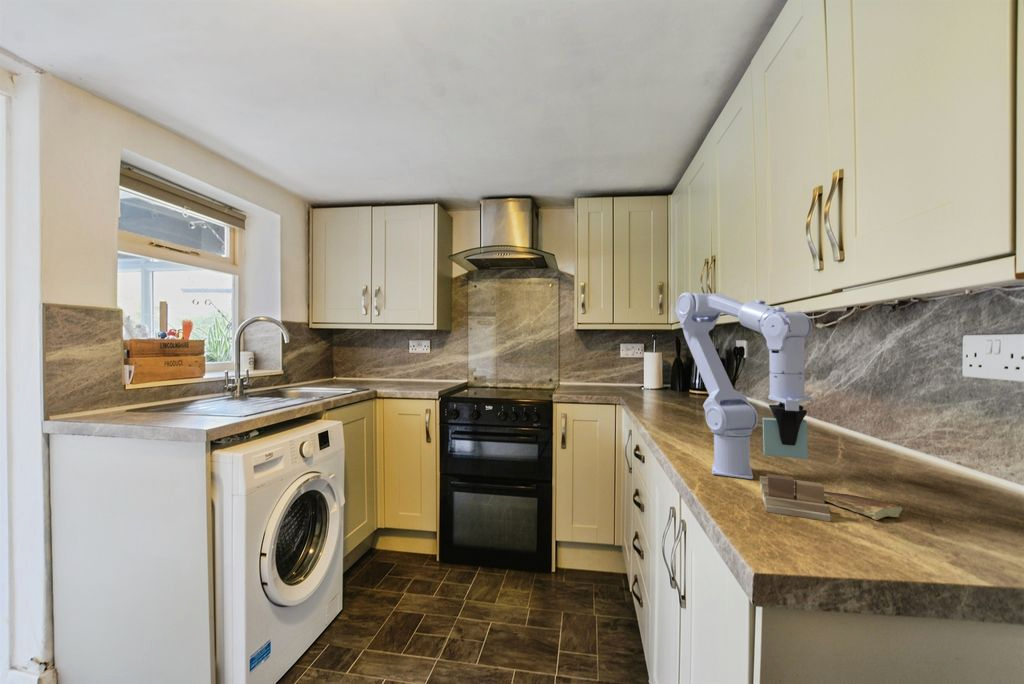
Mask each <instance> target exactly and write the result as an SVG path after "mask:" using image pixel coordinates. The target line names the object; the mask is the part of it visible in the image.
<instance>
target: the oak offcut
mask: <svg viewBox="0 0 1024 684" xmlns="http://www.w3.org/2000/svg"><path fill="white" fill-rule="evenodd" d="M794 480H795V500H798V501H805V502H813V503H820V504H824V492H825V487H824V485H823V484H822V483H821V482H814V481H807V482H806V481H805V480H799V479H798V480H799V481H798V480H797V479H794Z"/></svg>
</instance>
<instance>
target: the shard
mask: <svg viewBox="0 0 1024 684" xmlns="http://www.w3.org/2000/svg"><path fill="white" fill-rule="evenodd" d="M824 499H825V502H828V503H830V504H833V505H835V506H837V507H839V508H843V509H847V510H850V511H852V512H855V513H858V514H861V515H864V516H867V517H869V518H872V519H873V520H876V521H878V520H880V519H882V518H883V519H884V518H885V517H889V518H899V517H900V514H901V512H902V511H903V508H902V506H899V505H896V504H892V503H888V502H886V501H882V500H880V499H875V498H869V497H863V496H858V495H853V494H852V495H851V494H846V493H839V492H831V491H824Z"/></svg>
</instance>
